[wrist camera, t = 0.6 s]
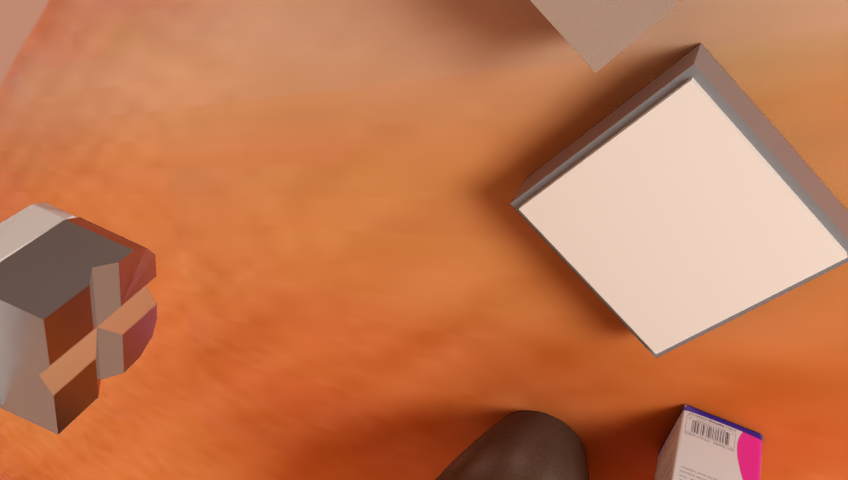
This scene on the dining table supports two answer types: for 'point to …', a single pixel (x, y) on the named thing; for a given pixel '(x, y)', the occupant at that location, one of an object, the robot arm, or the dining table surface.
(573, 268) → the stand
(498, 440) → the plant pot
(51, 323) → the robot arm
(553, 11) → the housing
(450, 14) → the dining table surface
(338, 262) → the dining table surface
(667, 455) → the supplement box
